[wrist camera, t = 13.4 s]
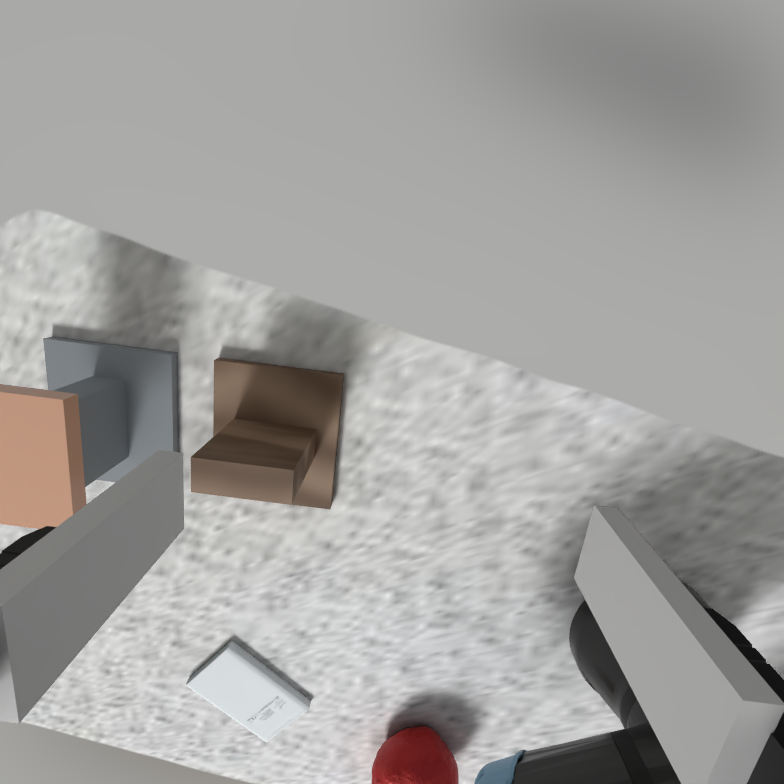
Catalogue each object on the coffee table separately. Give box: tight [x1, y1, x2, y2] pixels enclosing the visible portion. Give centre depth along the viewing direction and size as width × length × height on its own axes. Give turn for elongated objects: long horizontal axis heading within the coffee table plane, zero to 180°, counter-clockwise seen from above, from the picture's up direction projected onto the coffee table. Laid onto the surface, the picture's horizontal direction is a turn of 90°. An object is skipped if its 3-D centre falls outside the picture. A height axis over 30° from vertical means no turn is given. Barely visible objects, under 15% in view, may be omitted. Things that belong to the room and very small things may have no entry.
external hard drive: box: [186, 640, 311, 742], centre depth 54 cm, size 2×8×12 cm
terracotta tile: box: [0, 384, 86, 529], centre depth 35 cm, size 7×11×2 cm, turn 173°
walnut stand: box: [191, 358, 344, 509], centre depth 40 cm, size 14×12×10 cm
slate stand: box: [43, 337, 178, 487], centre depth 40 cm, size 14×12×10 cm
